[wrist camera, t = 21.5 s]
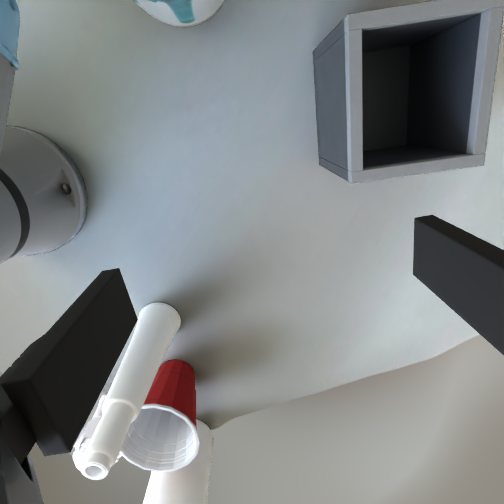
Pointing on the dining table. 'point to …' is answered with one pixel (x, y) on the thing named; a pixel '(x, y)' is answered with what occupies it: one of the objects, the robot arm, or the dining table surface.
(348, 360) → the dining table surface
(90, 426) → the flower shoulder figurine
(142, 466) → the plastic cup
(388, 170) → the grey hollow box
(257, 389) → the dining table surface
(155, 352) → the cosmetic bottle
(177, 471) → the alcohol
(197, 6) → the vase
